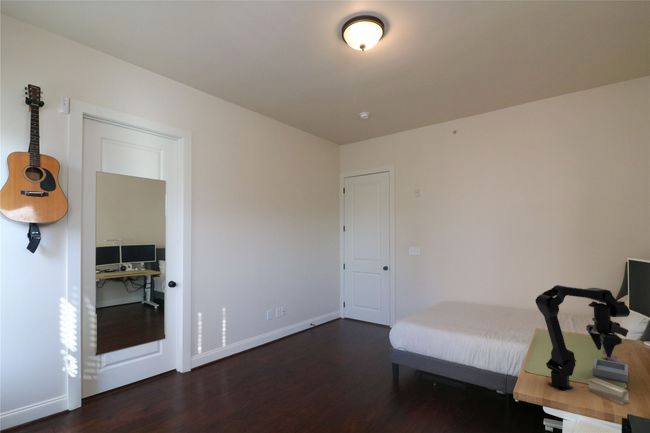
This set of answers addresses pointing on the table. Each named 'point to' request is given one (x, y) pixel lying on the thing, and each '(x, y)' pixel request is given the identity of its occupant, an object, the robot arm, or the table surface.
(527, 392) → the table surface
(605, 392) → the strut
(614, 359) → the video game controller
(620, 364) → the bin
